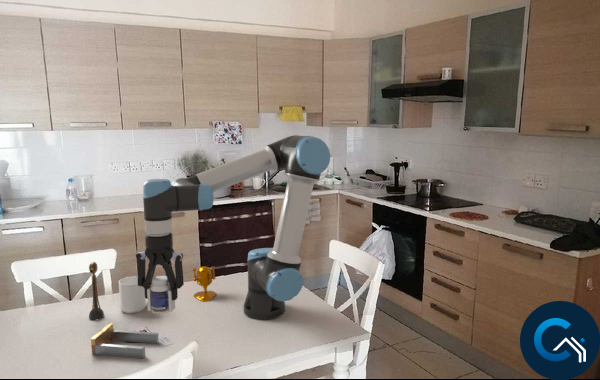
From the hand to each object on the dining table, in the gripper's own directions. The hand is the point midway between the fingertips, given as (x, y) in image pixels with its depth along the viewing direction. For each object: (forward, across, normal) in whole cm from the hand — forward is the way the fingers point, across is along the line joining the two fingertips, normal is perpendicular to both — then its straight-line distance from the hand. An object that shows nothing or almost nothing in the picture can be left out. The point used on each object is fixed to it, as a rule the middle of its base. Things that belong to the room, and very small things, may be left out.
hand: (161, 309), depth 130 cm
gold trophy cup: (+13, +2, -42) cm, 44 cm away
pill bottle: (+1, 0, 0) cm, 1 cm away
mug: (+13, +24, -28) cm, 39 cm away
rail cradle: (+13, +12, 0) cm, 18 cm away
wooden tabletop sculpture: (+13, +33, -18) cm, 40 cm away
